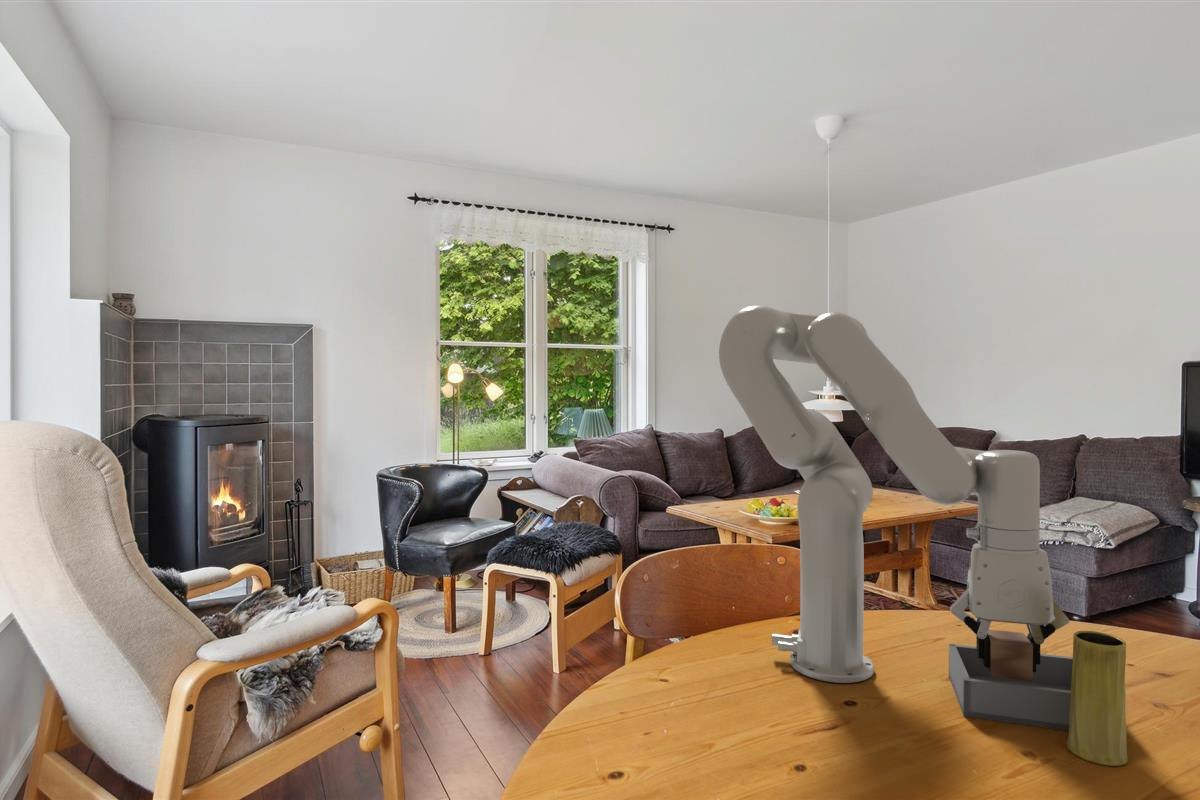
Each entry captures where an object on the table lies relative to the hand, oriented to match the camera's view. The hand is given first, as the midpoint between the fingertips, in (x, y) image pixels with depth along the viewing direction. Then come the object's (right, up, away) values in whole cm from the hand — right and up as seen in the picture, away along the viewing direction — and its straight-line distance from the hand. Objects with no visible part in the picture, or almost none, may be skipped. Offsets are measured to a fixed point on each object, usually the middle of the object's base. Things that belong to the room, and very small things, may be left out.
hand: (1007, 664), depth 99 cm
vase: (+3, -6, -13) cm, 15 cm away
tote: (+2, -5, 0) cm, 6 cm away
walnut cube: (0, -1, 0) cm, 1 cm away
